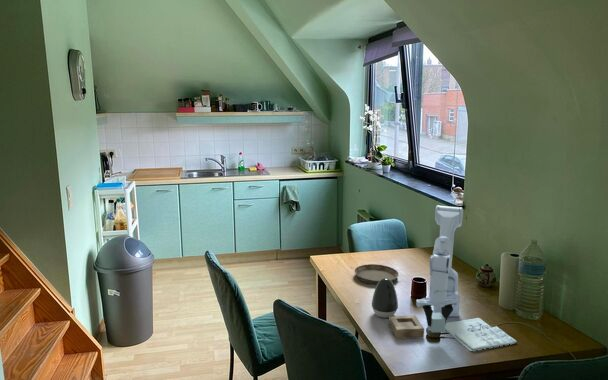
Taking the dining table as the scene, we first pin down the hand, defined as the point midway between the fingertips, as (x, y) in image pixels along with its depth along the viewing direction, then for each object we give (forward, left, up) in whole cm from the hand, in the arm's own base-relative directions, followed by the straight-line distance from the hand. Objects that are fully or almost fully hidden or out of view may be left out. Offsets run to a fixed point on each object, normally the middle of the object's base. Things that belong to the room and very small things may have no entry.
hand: (436, 324), depth 160 cm
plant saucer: (+7, -58, -7) cm, 59 cm away
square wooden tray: (+8, -8, -7) cm, 13 cm away
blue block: (0, 0, -2) cm, 2 cm away
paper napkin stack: (-17, -4, -7) cm, 19 cm away
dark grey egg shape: (+13, -21, -7) cm, 25 cm away
